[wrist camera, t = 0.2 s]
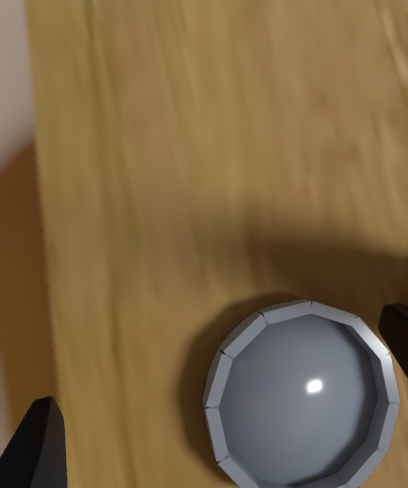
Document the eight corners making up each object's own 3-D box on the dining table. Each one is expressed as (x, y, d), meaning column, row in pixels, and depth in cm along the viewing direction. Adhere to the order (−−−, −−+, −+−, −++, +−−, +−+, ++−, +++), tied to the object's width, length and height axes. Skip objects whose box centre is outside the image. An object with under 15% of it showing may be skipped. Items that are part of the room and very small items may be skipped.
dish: (412, 392, 27) (431, 402, 25) (290, 531, 25) (302, 552, 23) (300, 262, 26) (313, 262, 24) (162, 397, 24) (164, 408, 22)
